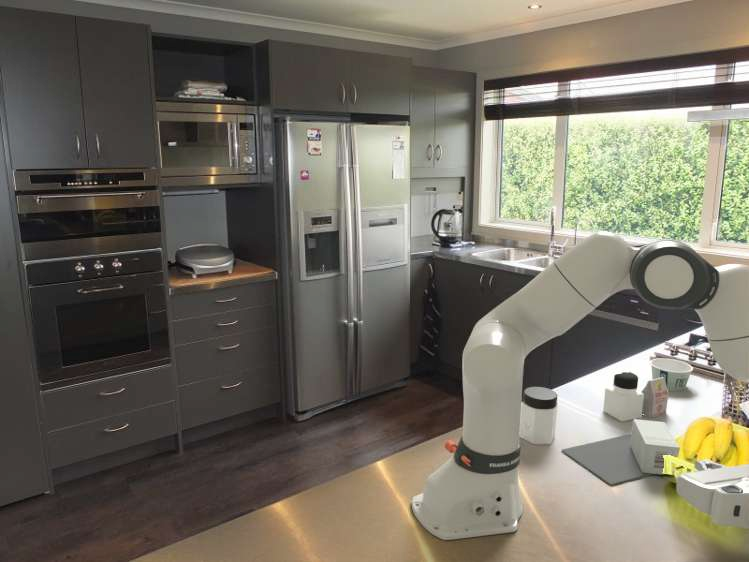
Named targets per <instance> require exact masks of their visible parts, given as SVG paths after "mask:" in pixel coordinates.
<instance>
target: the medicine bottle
mask: <svg viewBox="0 0 749 562" xmlns="http://www.w3.org/2000/svg"><path fill="white" fill-rule="evenodd" d="M638 385H639V377H638V375H637V374H635V373H633V372H631V371H624V370H623V371H617V372H615V373H614V374H613V384H612V386H608V387H605V389H604V398H603V409H602V412H604V413H605V412H606V413H605V414H607V413H608V414H607V415H609V414H610V415H609V416H611V417H612V416H613V417H612V418H614V419H616V420H617V421H619V420H620V422H621V421H622V422H628V421H633V420H632V419H637V418H638V419H641V418H642V415H643V414H642V408H643V400H644V394H643V393H641V392H642V391H639V390H638ZM627 420H628V421H627ZM622 422H621V423H622Z"/></svg>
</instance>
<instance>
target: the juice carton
mask: <svg viewBox="0 0 749 562" xmlns="http://www.w3.org/2000/svg"><path fill="white" fill-rule="evenodd" d="M640 392H641V393H643V394H644V400H643V408H642V415H643V414H644V415H643V416H645V415H646V417H647V416H648V418H650V419H651V418H653V416H654V417H657V416H660V415H663V414H666V413H667V407H668V401H669V390H668V389H667V386H666V381H665V377H661V378H657V379H654V380H652V379H651V380H648V381H647V383H646V385H645V387H644V388H643V389H642V391H640Z"/></svg>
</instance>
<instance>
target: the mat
mask: <svg viewBox="0 0 749 562" xmlns="http://www.w3.org/2000/svg"><path fill="white" fill-rule="evenodd" d="M631 434H632V433H629V434H625V435H620V436H615V437H611V438H607V439H603V440H598V441H593V442H589V443H585V444H581V445H577V446H572V447H568V448H563V449H561V452H562V453H563V452H564V453H563V454H565V455H567V456H568V457H569V458H571V459H572V460H573V461H575V462H576V463H577V464H579V465H580V466H581V467H583V468H584V469H586V470H588V471H589V472H590V473H591V474H593V475H594V476H596V477H598V478H599V479H600V480H601V481H603V482H605V484H607V485H608V486H610V487H612V486H615V485H618V484H623V483H627V482H631V481H634V480H637V479H642V478H646V477H650V476H654V474H652V473H644V472H642V471H641V469H640V466H639V464H638V462H637V460H636V458H635V455H634V453H633V451H632V449H631V447H630V441H631Z"/></svg>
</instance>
